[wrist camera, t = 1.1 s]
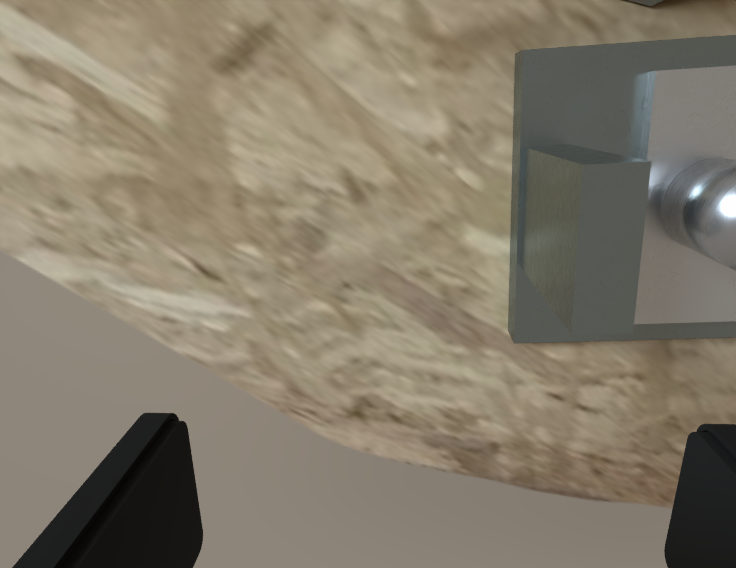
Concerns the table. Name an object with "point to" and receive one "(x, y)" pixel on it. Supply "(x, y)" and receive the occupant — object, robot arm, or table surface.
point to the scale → (616, 190)
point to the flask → (647, 2)
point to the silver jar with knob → (704, 209)
